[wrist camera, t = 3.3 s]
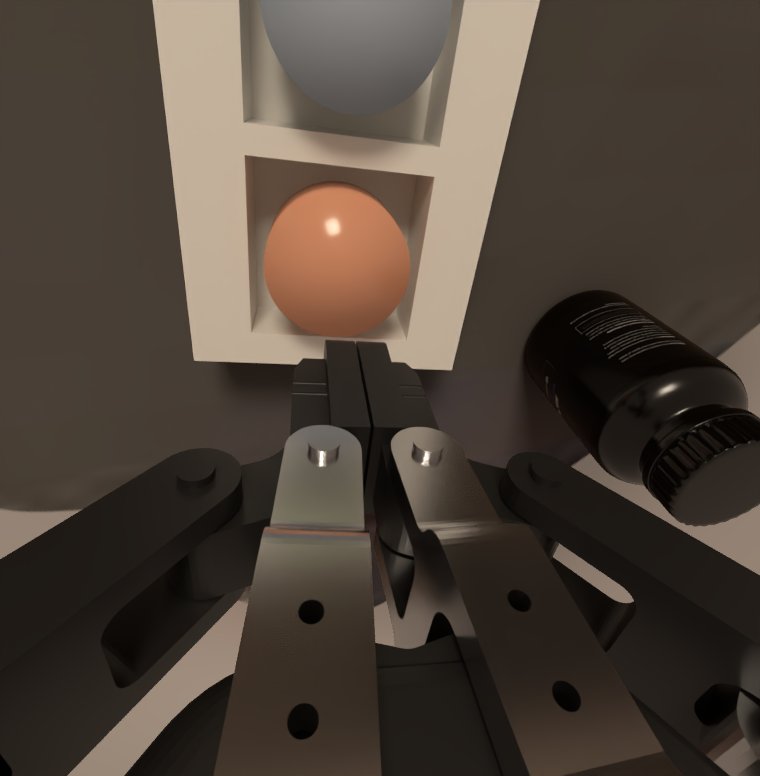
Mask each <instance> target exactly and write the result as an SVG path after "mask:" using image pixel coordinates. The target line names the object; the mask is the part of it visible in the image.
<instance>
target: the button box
mask: <svg viewBox="0 0 760 776" xmlns="http://www.w3.org/2000/svg"><path fill="white" fill-rule="evenodd" d="M539 2H540V0H452V11H451V19H450V24H449V29H448V34H447V37H446V40H445V43H444V46H443V49H442V51H441V54H440V56H439V58H438V61H437V63H436V64H435V66H434V68H433V69H432V71H431V73H430V74H429V76H428V77H427V78H426V80H425V81H424V82H423V84H422V85H421V86H420V87H419V88H418V89H417V90H416V91H415V92H414V93H413V94H412V95H411V96H409V97H408V98H407V99H406V100H405V101H403V102H401V103H400V104H398V105H396V106H395V107H393V108H390V109H388V110H385V111H383V112H379V113H375V114H369V115H350V114H345V113H340V112H337V111H334V110H332V109H329V108H327V107H325V106H323V105H321V104H319V103H317V102H316V101H314V100H313V99H312V98H310V97H309V96H308V95H306V94H305V93H304V92H303V91H302V90H301V89H300V88H299V87H298V86H297V85H296V84H295V83H294V82H293V81H292V79H291V78H290V77H289V76H288V75H287V73H286V71H285V70H284V68H283V67H282V65H281V64H280V62H279V60H278V59H277V57H276V55H275V53H274V51H273V49H272V46H271V44H270V41H269V39H268V36H267V33H266V30H265V26H264V22H263V19H262V13H261V8H260V2H259V0H153V8H154V17H155V26H156V34H157V43H158V52H159V60H160V69H161V78H162V86H163V95H164V104H165V112H166V121H167V130H168V138H169V147H170V156H171V165H172V173H173V182H174V191H175V199H176V208H177V217H178V225H179V234H180V243H181V251H182V260H183V269H184V277H185V286H186V295H187V304H188V312H189V321H190V330H191V338H192V347H193V356H194V361H217V362H244V363H271V364H298V363H299V362H300V361H301V360H302V359H303V358H312V359H324V345H325V340H345V341H355V344H356V341H366V342H385V343H386V345H387V348H388V351H389V355H390V358H391V361H392V362H405V363H406V364H407V365H409V366H410V367H411V368H412V369H433V370H452V367H453V363H454V359H455V354H456V350H457V346H458V342H459V338H460V333H461V329H462V325H463V321H464V317H465V312H466V308H467V304H468V300H469V296H470V291H471V287H472V283H473V279H474V275H475V270H476V266H477V262H478V258H479V254H480V249H481V245H482V241H483V237H484V233H485V228H486V224H487V220H488V216H489V212H490V207H491V203H492V199H493V195H494V191H495V186H496V182H497V178H498V174H499V170H500V166H501V161H502V157H503V153H504V149H505V145H506V140H507V136H508V132H509V128H510V124H511V119H512V115H513V111H514V107H515V103H516V98H517V94H518V90H519V86H520V82H521V77H522V73H523V69H524V65H525V61H526V56H527V52H528V48H529V44H530V40H531V35H532V31H533V27H534V23H535V19H536V14H537V10H538V6H539ZM326 181H340V182H346V183H350V184H353V185H356V186H359V187H361V188H363V189H365V190H367V191H368V192H370V193H371V194H373V195H374V196H375V197H376V198H377V199H378V200H380V201H381V203H382V204H383V205H384V206H385V207H386V209H387V210H388V212H389V213H390V215H391V216H392V218H393V219H394V221H395V222H396V224H397V225H398V227H399V229H400V230H401V232H402V234H403V236H404V238H405V240H406V243H407V247H408V250H409V256H410V276H409V281H408V286H407V288H406V291H405V294H404V296H403V298H402V300H401V302H400V303H399V305H398V306H397V308H396V309H395V310H394V311H393V312H392V314H391V315H390V316H389V317H388V318H386V319H385V320H384V321H383V322H382V323H380V324H379V325H377V326H376V327H374V328H372V329H370V330H368V331H366V332H363V333H360V334H357V335H353V336H347V337H328V336H322V335H318V334H314V333H312V332H309V331H307V330H305V329H303V328H301V327H299V326H297V325H296V324H294V323H293V322H292V321H290V320H289V319H288V318H287V317H286V316H285V315H284V314H283V313H282V312H281V311H280V310H279V308H278V307H277V306H276V304H275V303H274V301H273V299H272V297H271V295H270V293H269V291H268V288H267V285H266V281H265V277H264V267H263V265H264V254H265V248H266V244H267V240H268V237H269V233H270V229H271V226H272V223H273V220H274V218H275V216H276V214H277V212H278V211H279V209H280V208H281V207H282V205H283V204H284V203H285V202H286V201H287V200H288V199H289V198H290V197H291V196H292V195H293V194H295V193H296V192H298V191H299V190H301V189H303V188H305V187H307V186H309V185H312V184H316V183H320V182H326Z"/></svg>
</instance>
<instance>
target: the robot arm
mask: <svg viewBox="0 0 760 776" xmlns="http://www.w3.org/2000/svg"><path fill="white" fill-rule="evenodd" d="M364 514H375V518H376V524H377V526H376V532H375V538H374V549H375V553H376V557H377V562H378V566H379V570H380V575H381V579H382V583H383V587H384V592H385V596H386V600H387V604H388V609H389V613H390V617H391V622H392V626H393V631H394V641H395V647H393V646H388V645H383V644H378V643H375V627H374V606H373V585H372V563H371V543H370V534H369V531H368V530H365V529H364ZM559 543H560V544H561V545H563V546H564V547H566V548H567V549H568V550H570V551H571V552H573V553H574V554H576V555H577V556H579V557H580V558H582V559H583V560H585V561H586V562H587V563H589V564H590V565H592V566H593V567H595V568H596V569H598V570H599V571H601V572H602V573H604V574H605V575H607V576H608V577H610V578H611V579H612V580H614V581H615V582H617V583H618V584H620V585H621V586H622V587H624V588H625V589H626V590H627V591H628V592H629V593H630V595H631V596H632V598H633V599H634V602H632V603H621V602H617V601H615V600H613V599H611V598H610V597H608V596H607V595H606V594H604V593H603V592H601V591H600V590H598V589H597V588H596V587H594V586H593V585H591V584H590V583H589V582H587V581H586V580H584V579H583V578H582V577H580V576H578V575H577V574H576V573H574V572H573V571H572V570H570V569H569V568H567V567H566V566H565V565H563V564H562V563H560V562H559V561H557V560H556V559H555V558H553V555H554V553H555V551H556V549H557V547H558V545H559ZM250 585H252V587H251V592H250V597H249V602H248V607H247V612H246V617H245V622H244V627H243V632H242V637H241V642H240V647H239V652H238V657H237V662H236V667H235V673H233V674H232V675H229V676H227V677H225V678H224V679H222V680H221V681H219V682H218V683H216V684H214V685H213V686H211V687H210V688H208V689H207V690H205V691H204V692H203V693H202V694H200V695H199V696H198V697H197V698H195V699H194V700H193V701H191V702H190V703H189V704H188V705H187V706H186V707H185V708H184V709H183V710H182V711H181V712H180V713H179V714H178V715H177V716H176V717H174V719H172V720H171V722H170V723H169V724H168V725H167V726H166V727H165V728H164V729H163V731H162V732H161V733H160V734H159V735H158V736H157V738H156V739H155V740H154V741H153V742H152V743H151V745H150V746H149V747H148V748H147V749H146V751H145V752H144V753H143V754H142V755H141V757H140V758H139V759H138V760H137V761H136V763H135V764H134V765H133V766H132V767H131V769H130V770H129V771H128V772H127V773H126V774H125V776H760V575H758V574H756V573H755V572H753V571H751V570H749V569H748V568H746V567H744V566H742V565H741V564H739V563H737V562H735V561H734V560H732V559H730V558H728V557H727V556H725V555H723V554H722V553H720V552H718V551H716V550H714V549H713V548H711V547H709V546H708V545H706V544H704V543H702V542H701V541H699V540H697V539H695V538H694V537H692V536H690V535H688V534H687V533H685V532H683V531H682V530H680V529H678V528H676V527H674V526H673V525H671V524H669V523H668V522H666V521H664V520H662V519H661V518H659V517H657V516H655V515H654V514H652V513H650V512H648V511H647V510H645V509H643V508H642V507H640V506H638V505H636V504H635V503H633V502H631V501H629V500H628V499H626V498H624V497H622V496H621V495H619V494H617V493H615V492H614V491H612V490H610V489H608V488H606V487H605V486H603V485H602V484H600V483H598V482H596V481H595V480H593V479H591V478H589V477H588V476H586V475H584V474H582V473H580V472H579V471H577V470H575V469H574V468H572V467H570V466H568V465H567V464H565V463H563V462H562V461H560V460H558V459H556V458H553V457H551V456H548V455H545V454H541V453H534V452H524V453H519V454H517V455H515V456H513V457H512V458H511V459H510V460H509V462H508V464H507V467H506V469H503V468H499V467H495V466H491V465H487V464H482V463H479V462H475V461H472V460H470V459H467V458H466V456H465V454H464V452H463V450H462V448H461V447H460V445H459V444H458V443H457V442H456V441H455V440H454V439H453V438H452V437H450V436H449V435H447V434H446V433H443V432H441V431H440V430H439V428H438V425H437V423H436V420H435V417H434V415H433V412H432V410H431V407H430V405H429V402H428V399H427V398H426V394H425V392H424V389H423V388H422V384H421V381H420V379H419V376H418V374H417V373H416V372H415V371H414V370H413V369H412V368H411V367H410V366H409V365H407V364H406V363H405V362H392V361H391V358H390V355H389V351H388V348H387V345H386V343H385V342H366V341H356V344H355V341H345V340H325V345H324V359H312V358H303V359H302V360H301V361H300V362H299V363H298V365H297V366H296V367H295V368H294V375H293V394H292V411H291V429H290V437H289V438H288V440H287V441H286V444H285V447H284V448H283V449H282V450H281V451H280V452H278V453H277V454H275V455H274V456H272V457H270V458H267V459H265V460H262V461H259V462H255V463H251V464H246V465H242V466H240V464H239V462H238V461H237V460H236V459H235V458H234V457H233V456H232V455H230V454H228V453H226V452H224V451H221V450H217V449H211V448H199V449H191V450H186V451H183V452H180V453H177V454H175V455H172V456H171V457H169V458H167V459H165V460H164V461H162V462H160V463H159V464H157V465H155V466H154V467H152V468H150V469H149V470H147V471H145V472H144V473H142V474H140V475H139V476H137V477H135V478H134V479H132V480H131V481H129V482H127V483H126V484H124V485H122V486H121V487H119V488H117V489H116V490H114V491H112V492H111V493H109V494H107V495H106V496H104V497H102V498H101V499H99V500H98V501H96V502H94V503H93V504H91V505H89V506H88V507H86V508H84V509H83V510H81V511H79V512H78V513H76V514H75V515H73V516H71V517H70V518H68V519H66V520H65V521H63V522H61V523H60V524H58V525H56V526H55V527H53V528H51V529H50V530H48V531H47V532H45V533H43V534H42V535H40V536H38V537H36V538H35V539H33V540H32V541H30V542H28V543H27V544H25V545H23V546H22V547H20V548H18V549H17V550H15V551H13V552H12V553H10V554H8V555H7V556H5V557H3V558H2V559H0V776H67V775H68V774H69V773H70V772H71V771H72V770H73V769H74V768H75V767H76V766H77V765H78V764H79V763H80V762H81V761H82V760H83V759H84V757H86V756H87V754H89V752H90V751H91V750H92V749H93V748H94V747H95V746H96V745H97V744H98V743H99V742H100V741H101V740H102V739H103V738H104V737H105V736H106V735H107V734H108V733H109V732H110V731H111V730H112V729H113V728H114V727H115V726H116V725H117V724H118V723H119V721H121V720H122V719H123V717H125V716H126V715H127V714H128V713H129V711H130V710H131V709H132V708H133V707H134V706H135V705H136V704H137V703H138V702H139V701H140V700H141V699H142V698H143V697H144V696H145V695H146V694H147V693H148V692H149V691H150V690H151V689H152V688H153V687H154V686H155V685H156V684H157V683H158V682H159V681H160V680H161V678H163V676H165V674H166V673H167V672H168V671H169V670H170V669H171V668H172V667H173V666H174V665H175V664H176V663H177V662H178V661H179V660H180V659H181V658H182V657H183V656H184V655H185V654H186V653H187V652H188V651H189V650H190V649H191V648H192V647H193V646H194V645H195V644H196V643H197V642H198V641H199V640H200V639H201V638H202V637H203V635H205V634H206V632H207V631H208V630H209V629H210V628H211V627H212V626H213V625H214V624H215V623H216V622H217V621H218V620H219V619H220V618H221V617H222V616H223V615H224V614H225V613H226V612H227V611H228V610H229V609H230V608H231V607H232V606H233V605H234V604H235V603H236V602H237V600H238V599H239V598H240V597H241V595H242V594H243V592H244V590H245V587H247V586H250Z"/></svg>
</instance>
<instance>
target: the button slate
mask: <svg viewBox="0 0 760 776" xmlns="http://www.w3.org/2000/svg"><path fill="white" fill-rule="evenodd" d="M259 2H260V8H261V13H262V19H263V22H264V26H265V30H266V33H267V36H268V39H269V41H270V44H271V46H272V49H273V51H274V53H275V55H276V57H277V59H278V60H279V62H280V64H281V65H282V67H283V68H284V70H285V71H286V73H287V75H288V76H289V77H290V78H291V79H292V81H293V82H294V83H295V84H296V85H297V86H298V87H299V88H300V89H301V90H302V91H303V92H304V93H305V94H306V95H308V96H309V97H310V98H312V99H313V100H314V101H316V102H317V103H319V104H321V105H323V106H325V107H327V108H329V109H332V110H334V111H337V112H340V113H345V114H350V115H369V114H375V113H379V112H383V111H385V110H388V109H390V108H393V107H395V106H396V105H398V104H400V103H401V102H403V101H405V100H406V99H407V98H408V97H409V96H411V95H412V94H413V93H414V92H415V91H416V90H417V89H418V88H419V87H420V86H421V85H422V84H423V82H424V81H425V80H426V78H427V77H428V76H429V74H430V73H431V71H432V69H433V68H434V66H435V64H436V63H437V61H438V58H439V56H440V54H441V51H442V49H443V46H444V43H445V40H446V37H447V34H448V29H449V24H450V19H451V11H452V0H259Z"/></svg>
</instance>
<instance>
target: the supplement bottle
mask: <svg viewBox="0 0 760 776" xmlns="http://www.w3.org/2000/svg"><path fill="white" fill-rule="evenodd" d="M526 363H527V368H528V371H529V373H530V375H531V377H532V378H533V380H534V381H535V382H536V384H537V385H538V387H539V388H540V389H541V391H542V392H543V393H544V394H545V396H546V397H547V398H548V400H549V401H550V402H551V403H552V405H553V406H554V407H555V409H556V410H557V411H558V412H559V414H560V415H561V416H562V418H563V419H564V420H565V421H566V423H567V424H568V425H569V427H570V428H571V429H572V430H573V432H574V433H575V434H576V436H577V437H578V438H579V439H580V441H581V442H582V443H583V445H584V446H585V447H586V448H587V450H588V451H589V452H590V454H591V455H592V456H593V457H594V459H595V460H596V461H597V462H598V463H599V465H600V466H601V467H602V468H603V469H604V470H605V471H606V472H607V473H609V474H610V475H612V476H613V477H615V478H617V479H619V480H622V481H625V482H627V483H631V484H636V485H644V486H645V487H646V489H647V490H648V491H649V492H650V493H651V495H652V496H653V497H655V498H656V499H657V500H659V501H660V503H661V504H662V505H663V506H664V507H665V509H666V510H667V511H668V512H669V513H670V514H671V515H672V516H673V517H674V518H675V519H676V520H677V521H679V522H680V523H684V524H685V525H693V526H707V525H715V524H718V523H720V522H726V521H728V520H730V519H733V518H736V517H738V516H740V515H741V514H743V513H746V512H748V511H750V510H751V509H752V508H754V507H756V506H758V505H759V504H760V418H759V417H757V416H756V415H754V414H753V413H751V412H749V411H748V398H747V393H746V390H745V387H744V384H743V383H742V381H741V379H740V378H739V376H738V375H737V374H736V373H735V372H734V371H733V370H731V369H730V368H729V367H728V366H727V365H725V364H724V363H722V362H721V361H720V360H718V359H717V358H715V357H714V356H712V355H711V354H709V353H708V352H706V351H705V350H703V349H702V348H700V347H699V346H697V345H696V344H694V343H693V342H691V341H690V340H688V339H687V338H685V337H684V336H682V335H681V334H679V333H678V332H676V331H675V330H673V329H672V328H670V327H669V326H667V325H666V324H664V323H663V322H661V321H660V320H658V319H657V318H655V317H654V316H652V315H651V314H649V313H648V312H646V311H645V310H643V309H642V308H640V307H639V306H637V305H636V304H634V303H632V302H631V301H629V300H628V299H626V298H624V297H623V296H621V295H619V294H616V293H614V292H610V291H604V290H592V291H586V292H582V293H578V294H575V295H573V296H570V297H568V298H566V299H564V300H563V301H561V302H559V303H558V304H556V305H555V306H554V307H552V308H551V309H550V310H549V311H548V312H547V313H546V314H545V315H544V316H543V317H542V318H541V319H540V321H539V322H538V323H537V325H536V326H535V328H534V329H533V331H532V333H531V336H530V338H529V341H528V344H527V349H526Z"/></svg>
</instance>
